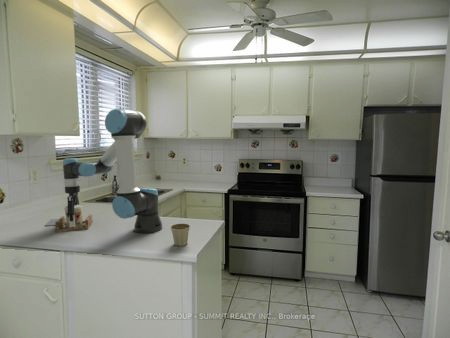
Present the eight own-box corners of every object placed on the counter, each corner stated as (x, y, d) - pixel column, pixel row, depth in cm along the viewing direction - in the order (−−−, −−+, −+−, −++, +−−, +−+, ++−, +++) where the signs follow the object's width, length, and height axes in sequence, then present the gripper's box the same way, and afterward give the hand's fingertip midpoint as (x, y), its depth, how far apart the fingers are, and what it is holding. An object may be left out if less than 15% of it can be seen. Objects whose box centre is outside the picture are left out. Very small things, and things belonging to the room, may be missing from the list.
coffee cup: (65, 230, 164) (63, 209, 162) (66, 225, 172) (65, 205, 171) (83, 228, 168) (82, 207, 166) (84, 223, 176) (82, 203, 175)
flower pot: (179, 249, 135) (178, 230, 134) (166, 244, 141) (166, 226, 140) (194, 243, 142) (194, 226, 141) (181, 239, 148) (181, 222, 147)
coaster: (68, 224, 174) (68, 223, 174) (44, 226, 171) (44, 225, 171) (74, 218, 187) (74, 217, 187) (51, 220, 183) (51, 219, 183)
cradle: (88, 229, 165) (87, 220, 164) (55, 232, 161) (54, 223, 160) (92, 221, 179) (92, 213, 179) (62, 224, 175) (62, 216, 175)
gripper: (74, 188, 157) (77, 229, 160) (83, 182, 179) (85, 217, 182) (58, 189, 155) (61, 230, 158) (70, 182, 177) (72, 218, 180)
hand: (74, 223), depth 170 cm, fingers open, 10 cm apart
